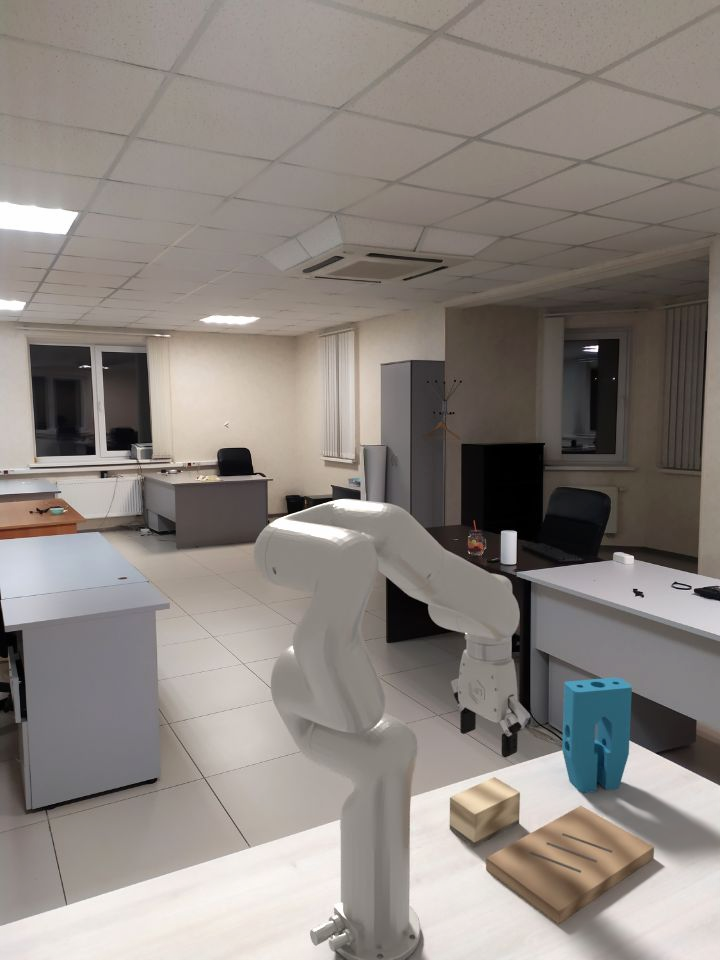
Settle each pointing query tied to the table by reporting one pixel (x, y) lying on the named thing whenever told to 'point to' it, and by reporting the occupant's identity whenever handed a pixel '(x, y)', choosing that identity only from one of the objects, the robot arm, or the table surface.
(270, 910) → the table surface
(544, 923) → the table surface
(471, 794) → the block
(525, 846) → the oak board
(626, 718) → the block
